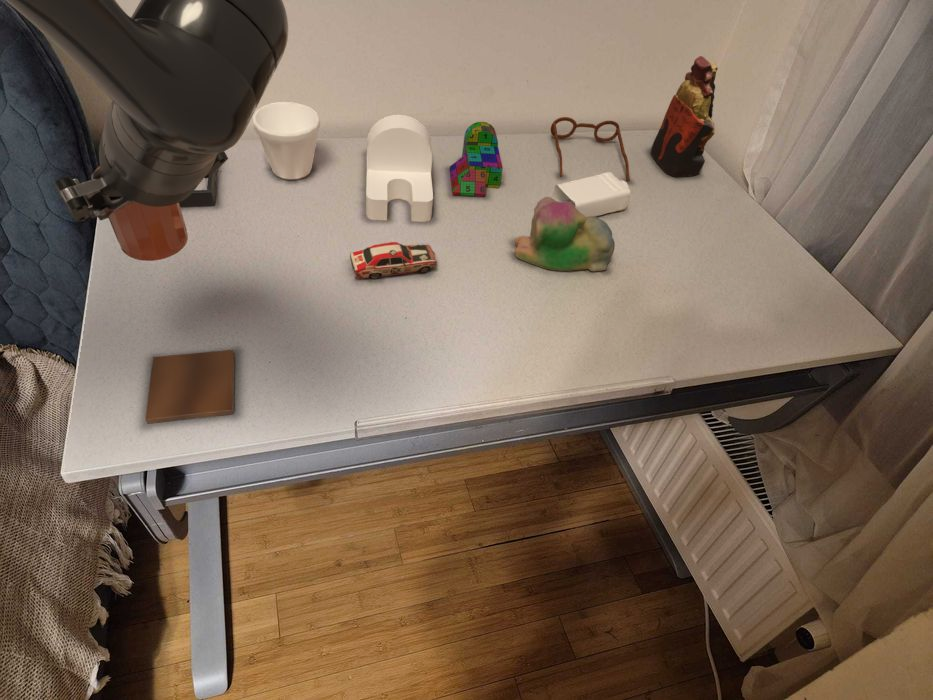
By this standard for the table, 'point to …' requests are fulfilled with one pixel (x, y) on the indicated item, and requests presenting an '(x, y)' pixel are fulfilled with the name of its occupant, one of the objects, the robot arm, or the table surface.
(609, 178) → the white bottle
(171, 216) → the terracotta cup
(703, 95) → the statue
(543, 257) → the sculpture
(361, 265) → the race car
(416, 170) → the bracket
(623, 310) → the table surface
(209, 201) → the dark grey square frame
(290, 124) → the cup
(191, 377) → the walnut board
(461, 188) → the multicoloured toy chair
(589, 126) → the glasses
